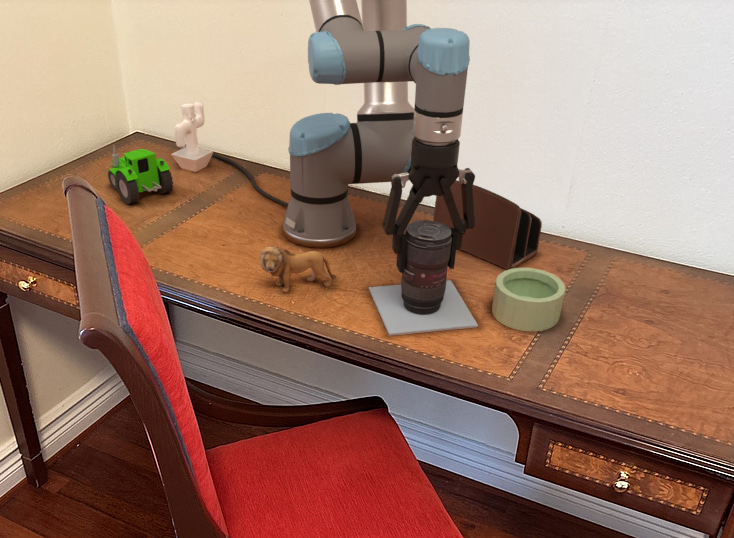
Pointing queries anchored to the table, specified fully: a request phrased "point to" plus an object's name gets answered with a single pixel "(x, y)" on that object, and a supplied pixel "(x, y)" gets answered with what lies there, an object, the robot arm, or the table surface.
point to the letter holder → (494, 227)
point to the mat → (405, 322)
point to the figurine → (191, 139)
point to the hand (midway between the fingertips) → (425, 266)
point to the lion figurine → (294, 265)
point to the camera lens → (425, 266)
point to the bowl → (528, 299)
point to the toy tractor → (139, 174)
